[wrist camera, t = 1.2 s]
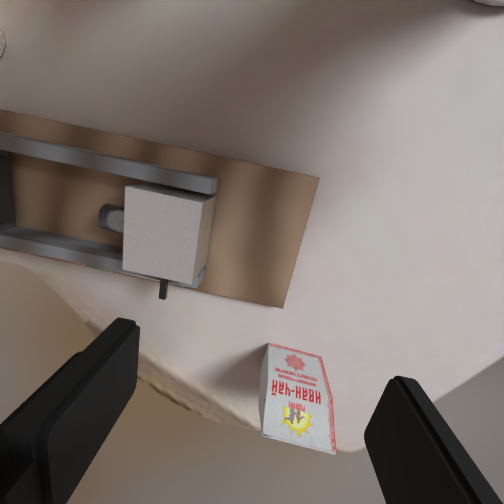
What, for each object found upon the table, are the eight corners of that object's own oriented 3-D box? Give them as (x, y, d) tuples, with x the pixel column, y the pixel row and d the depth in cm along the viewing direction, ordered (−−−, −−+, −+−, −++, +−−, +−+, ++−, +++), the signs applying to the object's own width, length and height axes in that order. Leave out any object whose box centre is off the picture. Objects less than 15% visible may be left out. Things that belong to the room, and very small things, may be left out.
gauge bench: (316, 177, 24) (335, 181, 17) (282, 301, 29) (285, 345, 22) (-17, 106, 24) (-135, 80, 17) (2, 241, 29) (-86, 265, 22)
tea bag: (311, 379, 32) (328, 467, 23) (260, 365, 32) (256, 448, 23) (321, 356, 31) (343, 440, 21) (268, 342, 31) (267, 420, 21)
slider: (216, 195, 24) (202, 202, 19) (202, 289, 27) (187, 315, 22) (123, 175, 24) (86, 177, 19) (120, 271, 27) (88, 293, 22)
